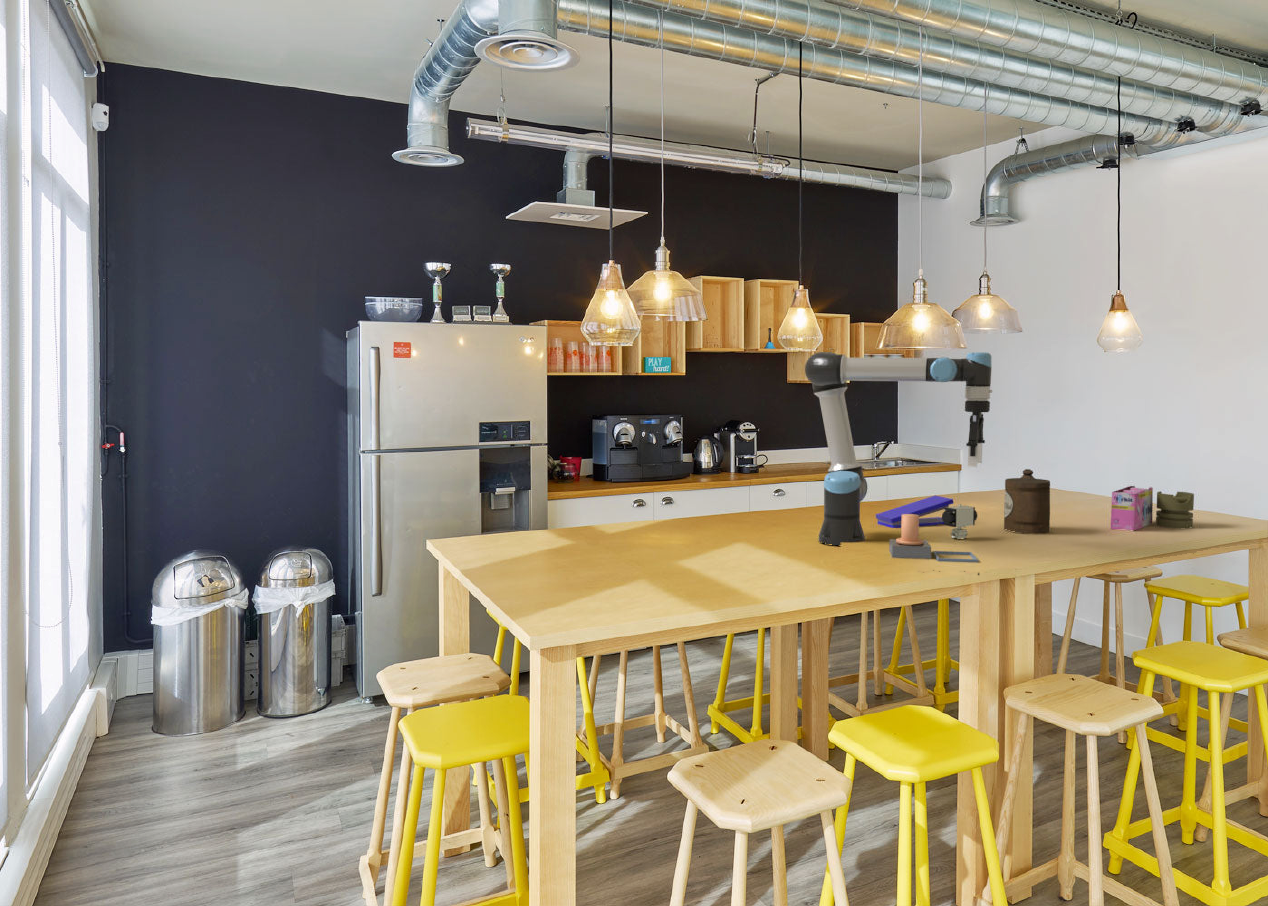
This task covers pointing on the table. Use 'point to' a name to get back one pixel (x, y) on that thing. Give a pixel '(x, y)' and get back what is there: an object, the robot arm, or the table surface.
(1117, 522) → the gum box
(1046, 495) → the wooden container
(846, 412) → the robot arm
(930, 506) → the stapler
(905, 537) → the flanged copper cylinder
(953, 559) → the blue-grey square frame
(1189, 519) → the piston
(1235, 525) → the table surface
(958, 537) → the pneumatic valve
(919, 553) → the block
